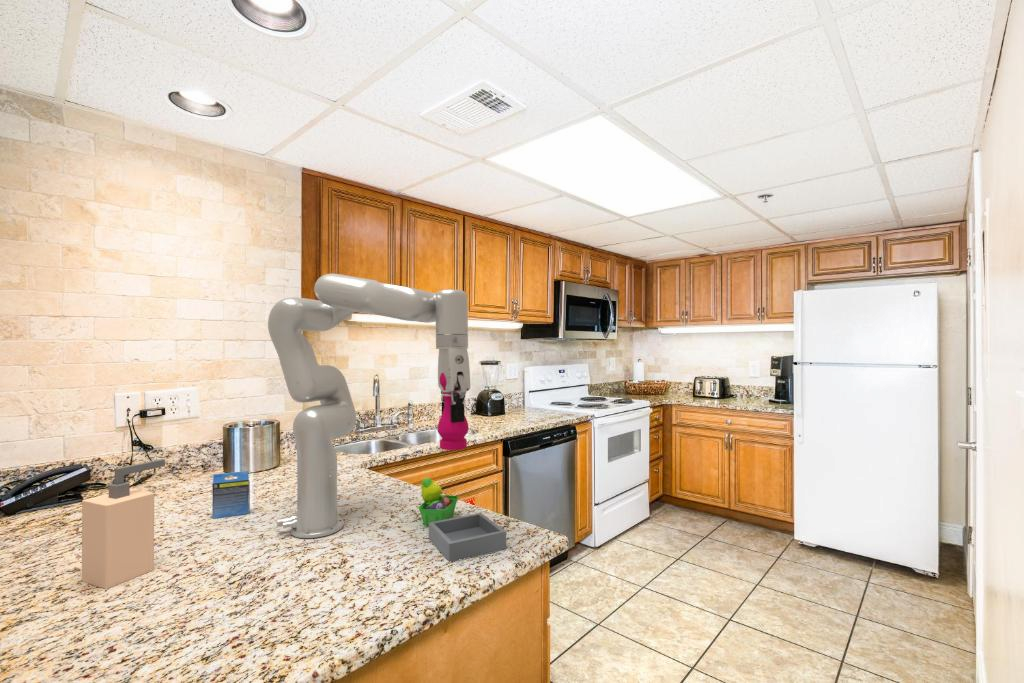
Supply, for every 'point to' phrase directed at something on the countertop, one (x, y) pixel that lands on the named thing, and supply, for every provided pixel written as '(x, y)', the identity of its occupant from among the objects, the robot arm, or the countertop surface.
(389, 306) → the robot arm
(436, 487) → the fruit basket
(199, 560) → the countertop surface
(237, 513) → the label tape box
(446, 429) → the pepper mill
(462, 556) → the tray
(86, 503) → the soap dispenser
